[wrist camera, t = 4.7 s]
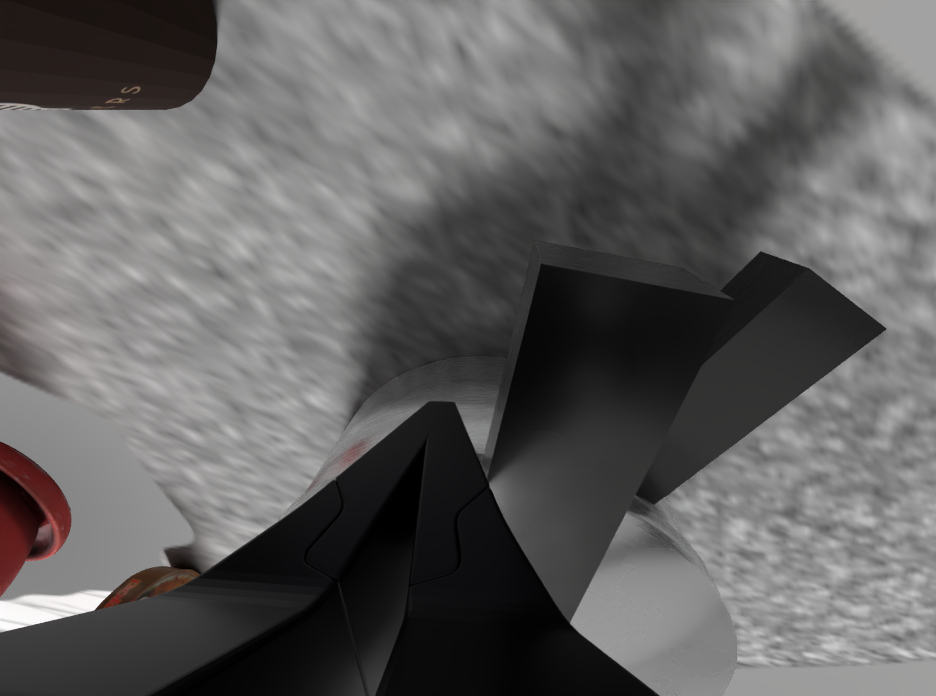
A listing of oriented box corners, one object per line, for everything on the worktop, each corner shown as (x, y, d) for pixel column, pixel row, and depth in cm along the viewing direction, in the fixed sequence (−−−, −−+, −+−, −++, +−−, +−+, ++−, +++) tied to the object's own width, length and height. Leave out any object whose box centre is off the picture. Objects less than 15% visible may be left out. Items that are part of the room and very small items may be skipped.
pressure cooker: (510, 625, 28) (510, 757, 22) (291, 518, 25) (219, 633, 19) (871, 361, 16) (1090, 482, 10) (538, 110, 14) (558, 66, 8)
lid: (620, 758, 20) (638, 858, 17) (278, 682, 20) (240, 768, 17) (1008, 319, 8) (1265, 399, 6) (206, 170, 9) (59, 173, 6)
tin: (239, 651, 35) (164, 786, 27) (208, 647, 35) (124, 778, 28) (189, 543, 28) (70, 681, 21) (150, 539, 28) (20, 673, 21)
